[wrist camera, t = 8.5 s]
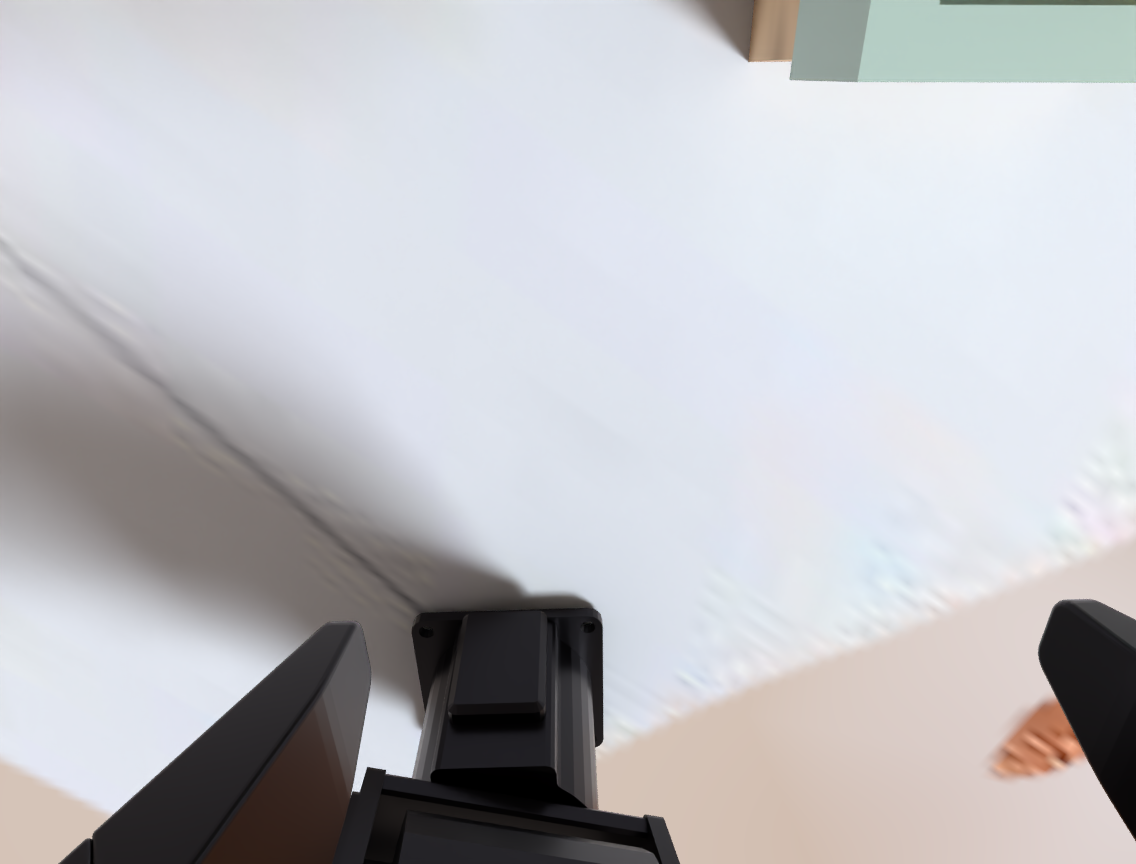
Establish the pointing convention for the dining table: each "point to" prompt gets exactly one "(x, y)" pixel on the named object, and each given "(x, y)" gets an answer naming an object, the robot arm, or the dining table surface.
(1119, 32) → the teal cap block
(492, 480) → the dining table surface
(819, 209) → the dining table surface
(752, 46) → the oak block
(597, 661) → the robot arm
